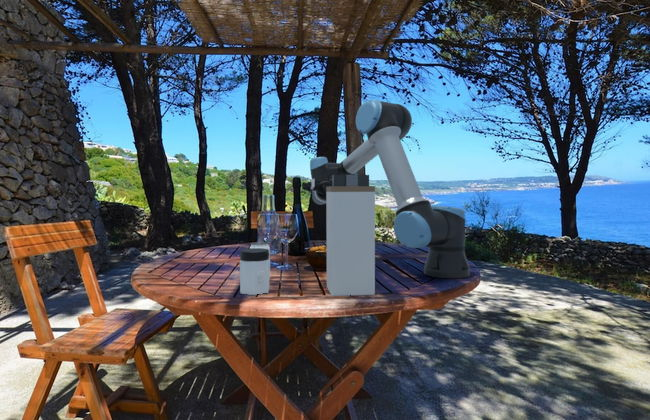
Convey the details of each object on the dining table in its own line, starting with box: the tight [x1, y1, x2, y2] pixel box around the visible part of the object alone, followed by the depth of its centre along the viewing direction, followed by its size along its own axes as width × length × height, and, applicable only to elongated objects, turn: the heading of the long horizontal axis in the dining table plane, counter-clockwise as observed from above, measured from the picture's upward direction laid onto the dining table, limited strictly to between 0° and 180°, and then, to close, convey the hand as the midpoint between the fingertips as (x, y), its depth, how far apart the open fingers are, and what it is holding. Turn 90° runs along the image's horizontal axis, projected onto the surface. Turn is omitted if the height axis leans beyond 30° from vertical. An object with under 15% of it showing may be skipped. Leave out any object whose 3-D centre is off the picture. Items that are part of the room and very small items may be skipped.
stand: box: [325, 185, 376, 297], centre depth 124 cm, size 12×12×30 cm
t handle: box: [331, 174, 370, 186], centre depth 129 cm, size 20×10×3 cm, turn 7°
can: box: [249, 241, 271, 280], centre depth 139 cm, size 6×6×12 cm
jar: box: [239, 248, 270, 296], centre depth 123 cm, size 9×8×12 cm
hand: (332, 182), depth 149 cm, fingers open, 13 cm apart
